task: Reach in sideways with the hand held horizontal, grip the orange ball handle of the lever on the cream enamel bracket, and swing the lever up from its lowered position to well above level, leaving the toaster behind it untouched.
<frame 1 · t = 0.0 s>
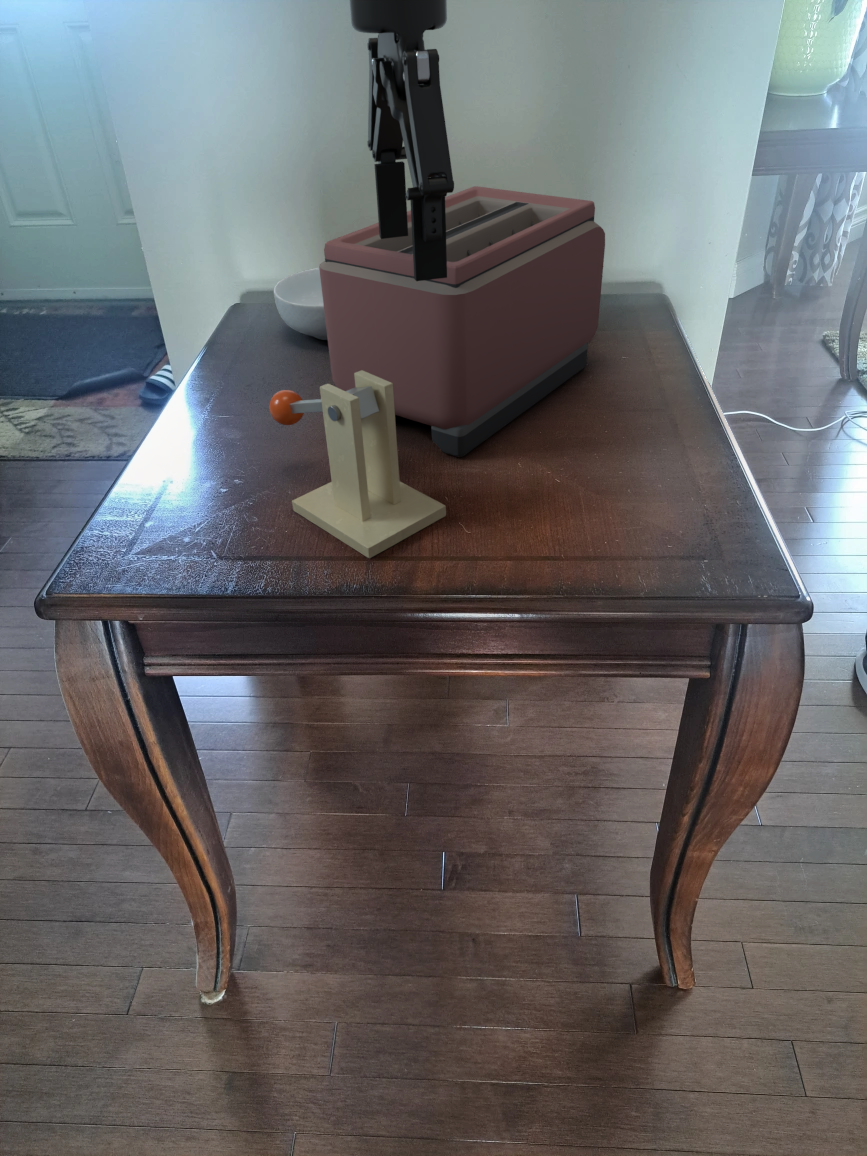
hand: (411, 256, 76), 22 cm above the table, tool pointing down, fingers open, 13 cm apart
lever: (319, 405, 81), point 10 cm above the table, hinge at -20.0°
bracket: (368, 513, 83), on the table
cereal bowl: (336, 332, 123), on the table
toaster: (478, 388, 106), on the table
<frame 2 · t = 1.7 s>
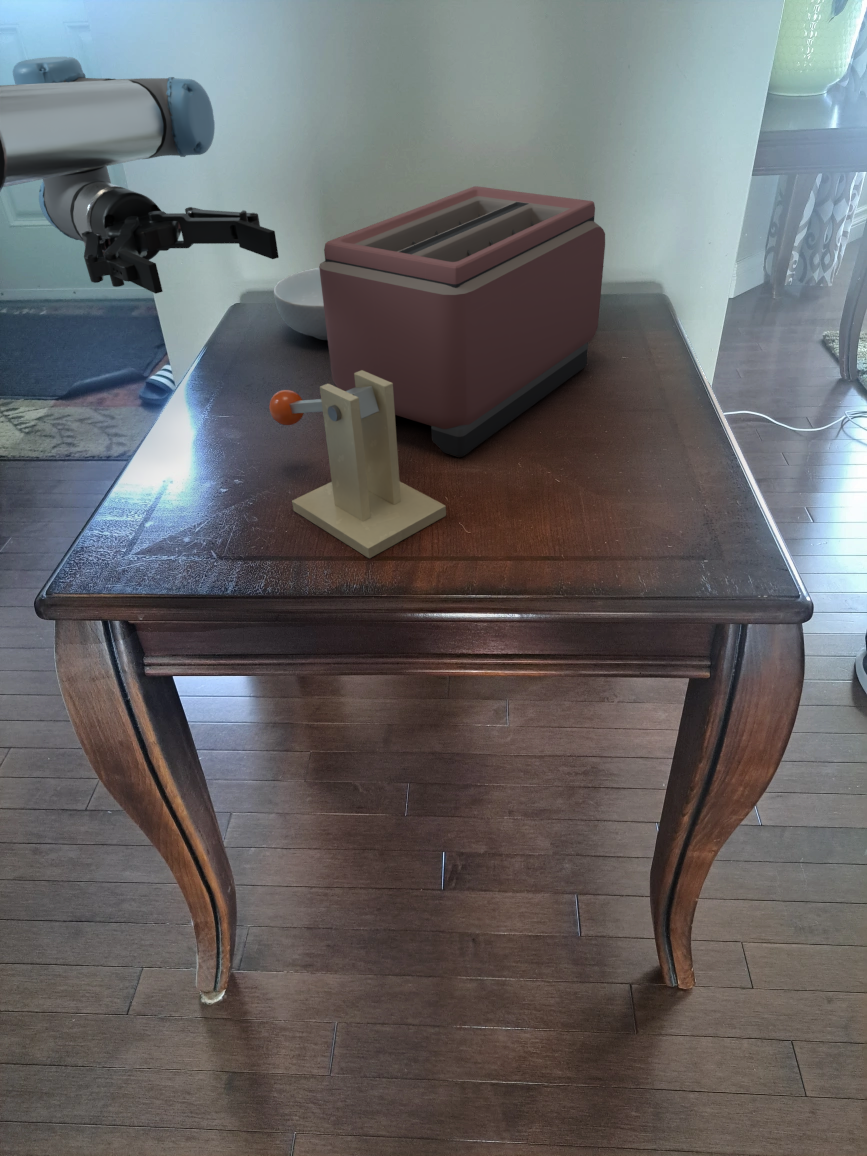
hand: (217, 261, 83), 21 cm above the table, tool horizontal, fingers open, 13 cm apart
nothing on the table moved.
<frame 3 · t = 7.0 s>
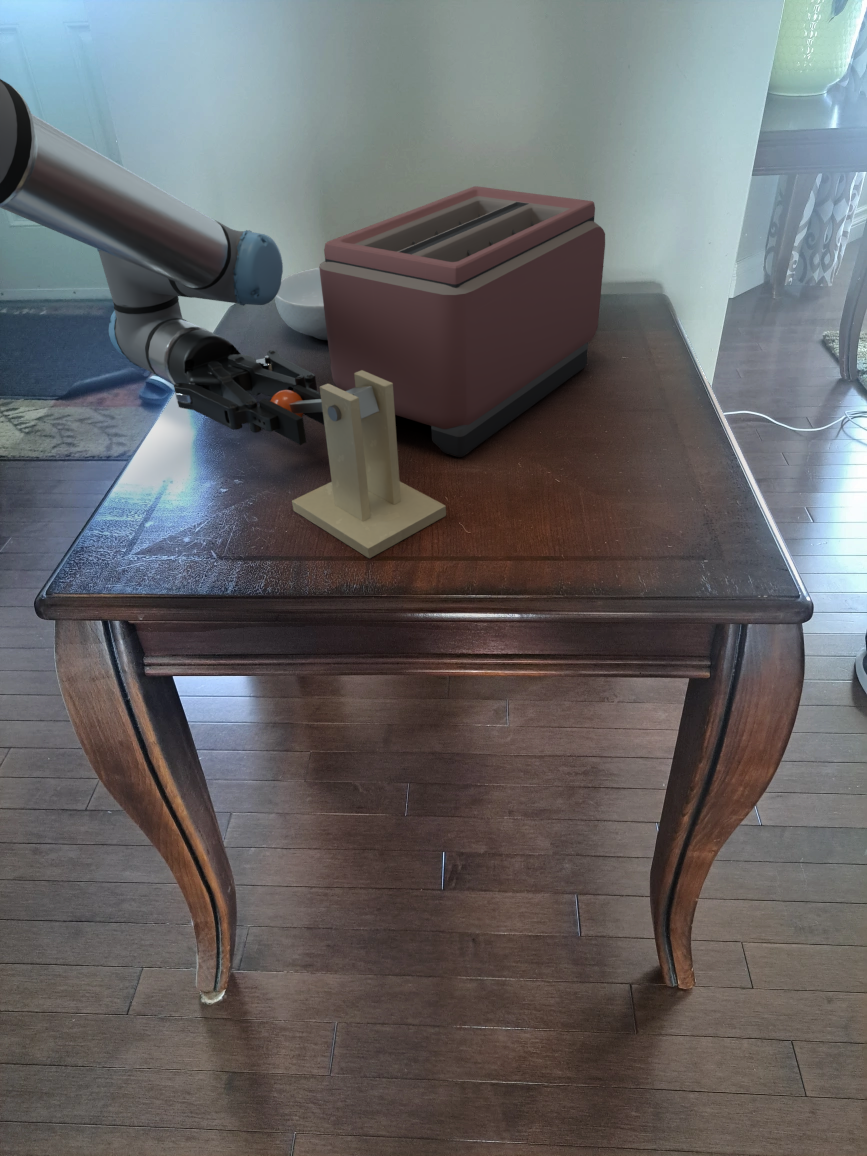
hand: (318, 423, 83), 8 cm above the table, tool horizontal, fingers closed on lever, 4 cm apart
lever: (319, 405, 81), point 10 cm above the table, hinge at -20.0°, touching gripper
everything else where it was.
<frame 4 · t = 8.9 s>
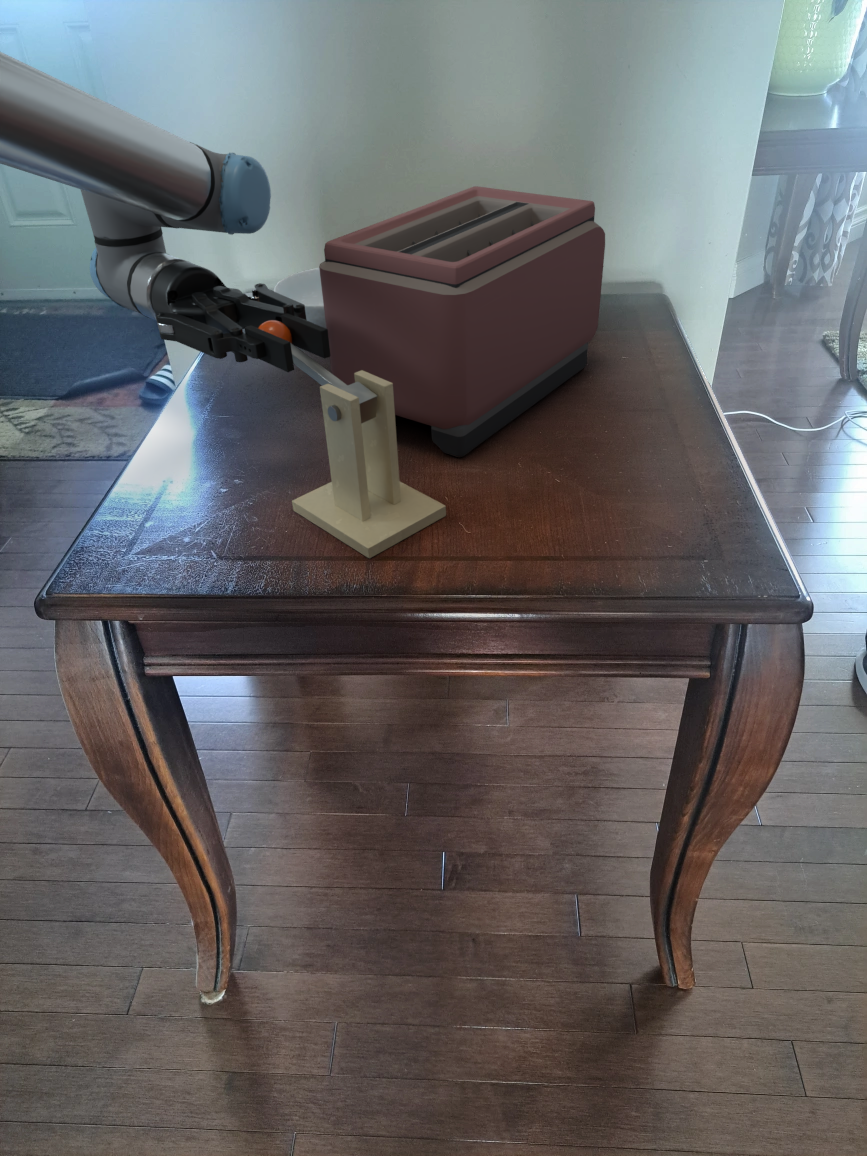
hand: (307, 350, 78), 15 cm above the table, tool horizontal, fingers closed on lever, 4 cm apart
lever: (312, 369, 79), point 13 cm above the table, hinge at 12.2°, touching gripper
everything else where it was.
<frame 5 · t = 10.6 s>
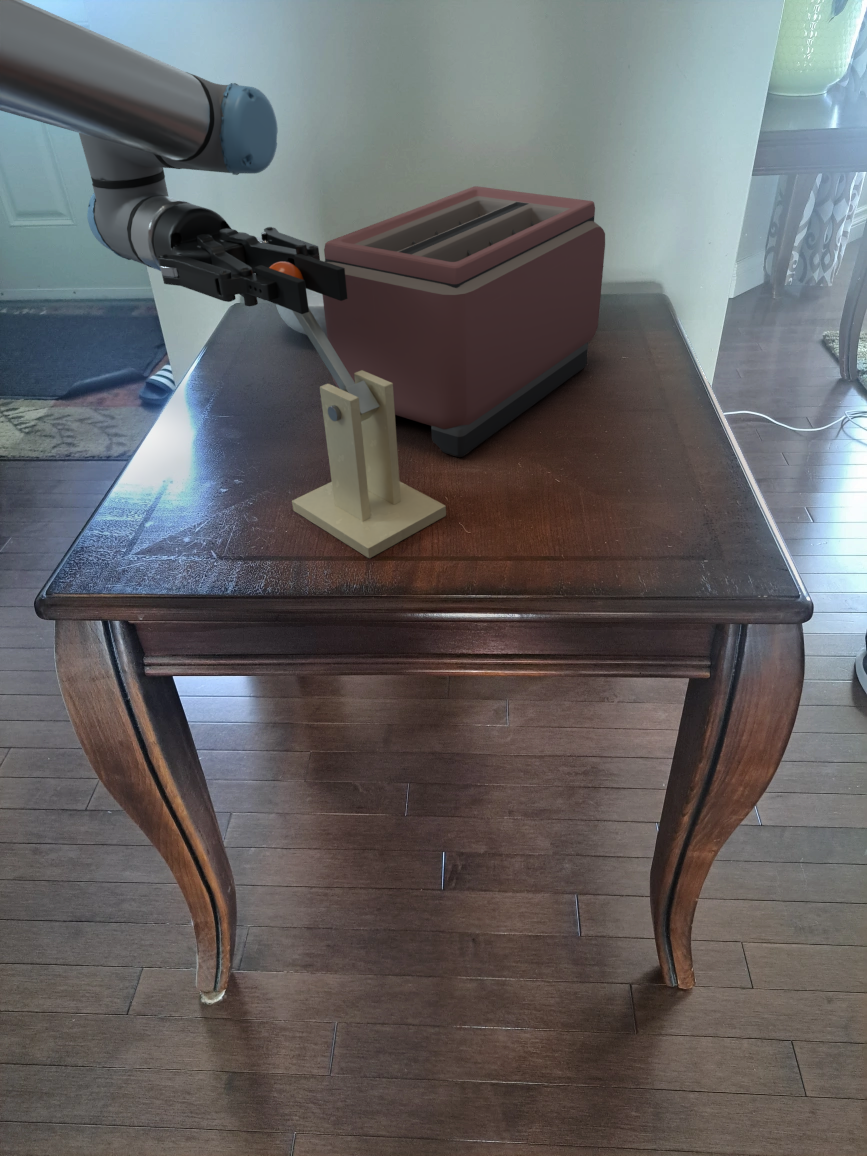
hand: (323, 290, 72), 21 cm above the table, tool horizontal, fingers closed on lever, 4 cm apart
lever: (319, 340, 76), point 17 cm above the table, hinge at 43.7°, touching gripper
everything else where it was.
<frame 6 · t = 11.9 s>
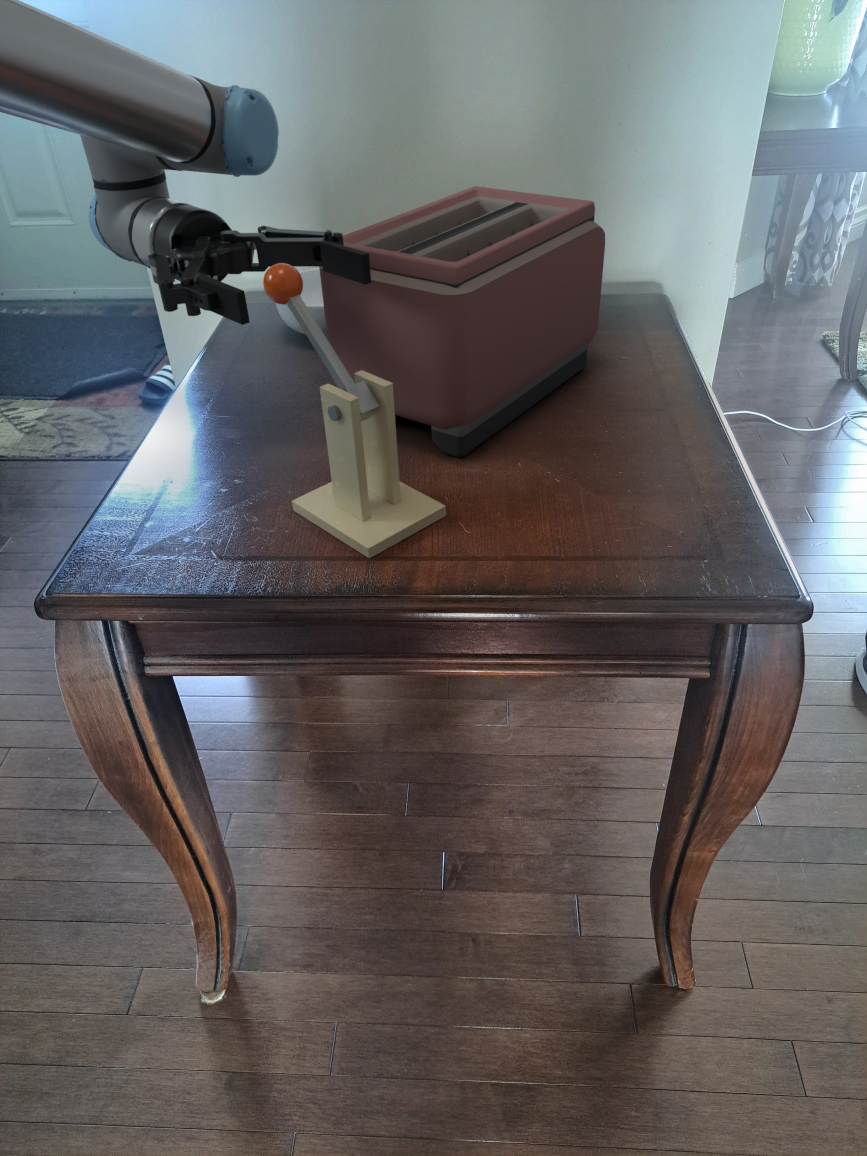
hand: (308, 287, 73), 21 cm above the table, tool horizontal, fingers open, 13 cm apart
lever: (319, 341, 76), point 17 cm above the table, hinge at 42.7°
everything else where it was.
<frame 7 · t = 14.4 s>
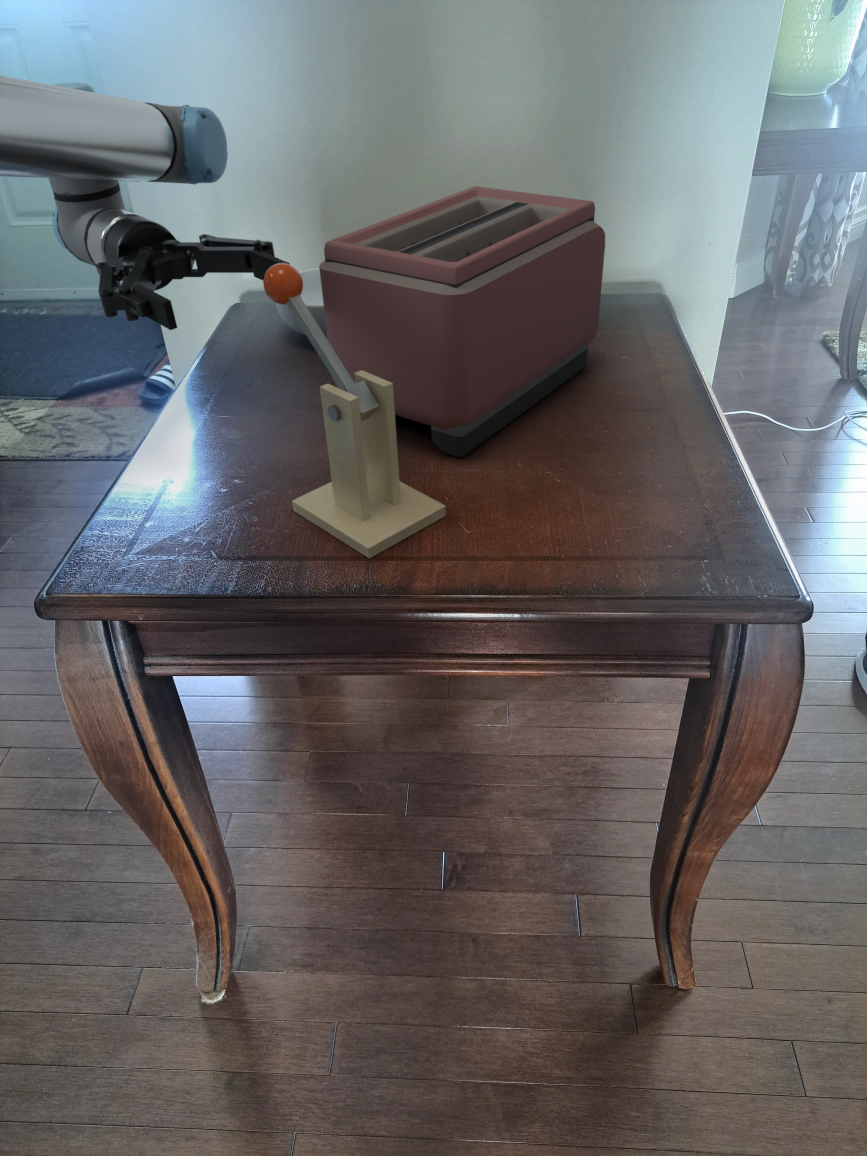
hand: (232, 295, 82), 18 cm above the table, tool horizontal, fingers open, 13 cm apart
nothing on the table moved.
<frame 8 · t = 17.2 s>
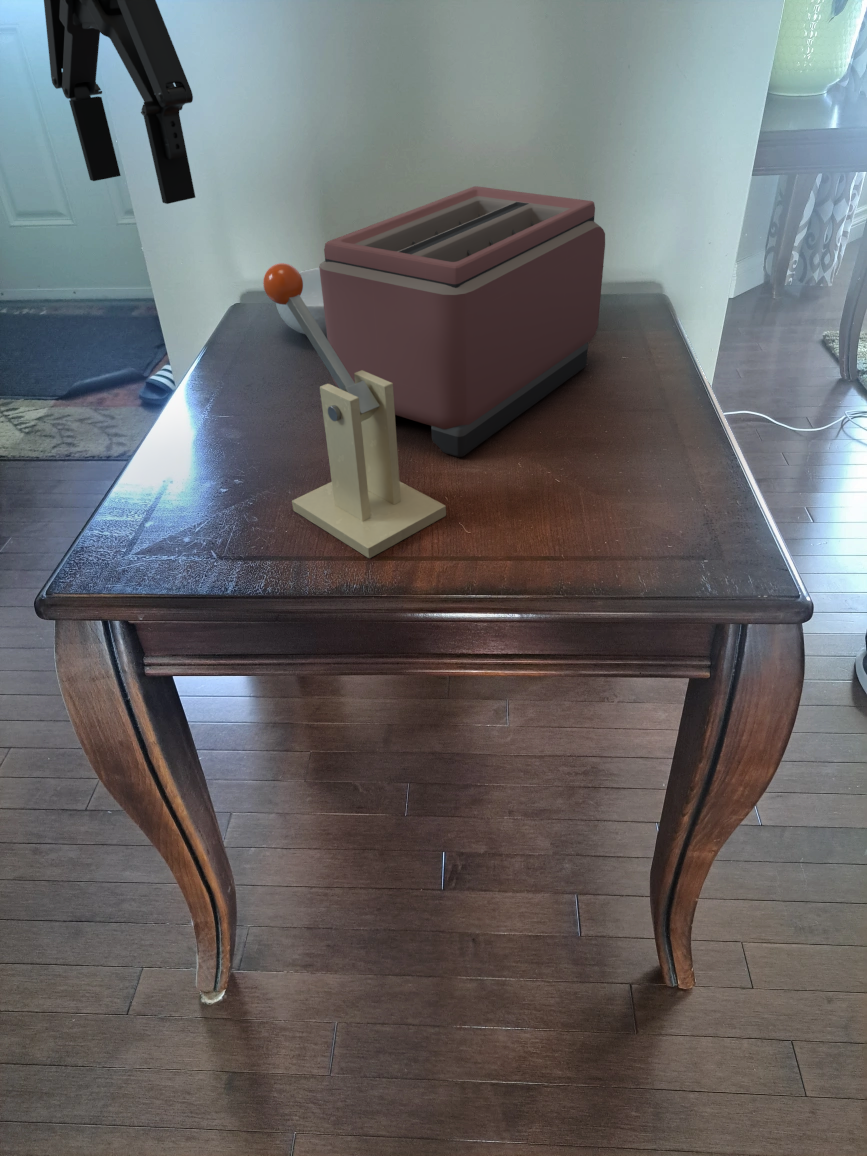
hand: (140, 189, 74), 29 cm above the table, tool pointing down, fingers open, 13 cm apart
nothing on the table moved.
at the end: lever at +43° (first picture: -20°); toaster moved 0.2 cm from its start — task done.
